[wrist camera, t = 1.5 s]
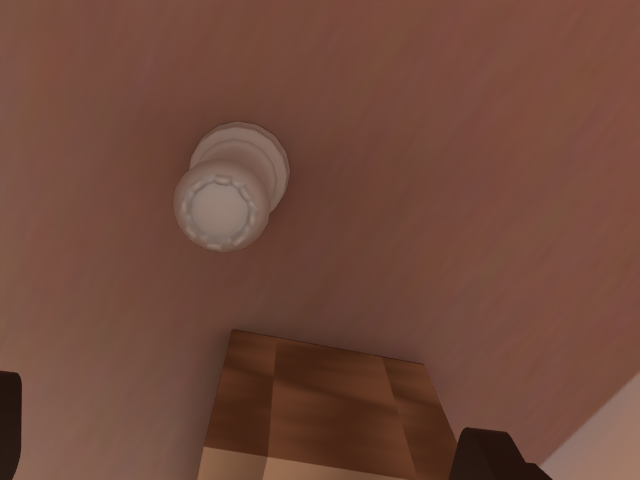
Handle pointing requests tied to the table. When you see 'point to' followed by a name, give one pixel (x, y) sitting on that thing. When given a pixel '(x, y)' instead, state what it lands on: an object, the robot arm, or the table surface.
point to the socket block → (323, 416)
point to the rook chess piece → (231, 187)
